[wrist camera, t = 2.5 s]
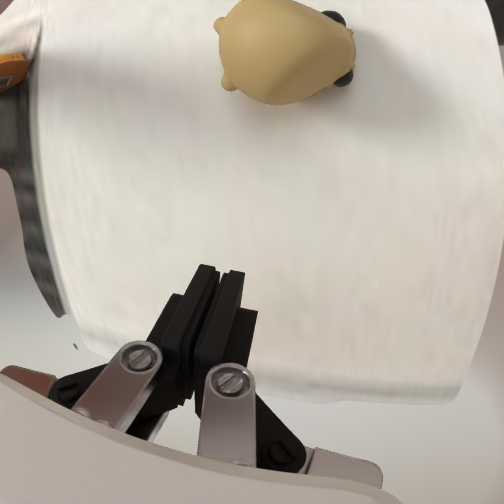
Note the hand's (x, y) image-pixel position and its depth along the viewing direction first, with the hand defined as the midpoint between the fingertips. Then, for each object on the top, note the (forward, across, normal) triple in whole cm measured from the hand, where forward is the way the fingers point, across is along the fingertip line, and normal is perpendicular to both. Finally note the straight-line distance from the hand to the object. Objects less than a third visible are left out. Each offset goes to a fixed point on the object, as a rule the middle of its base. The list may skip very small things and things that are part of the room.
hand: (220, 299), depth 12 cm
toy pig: (+22, 0, -12) cm, 25 cm away
